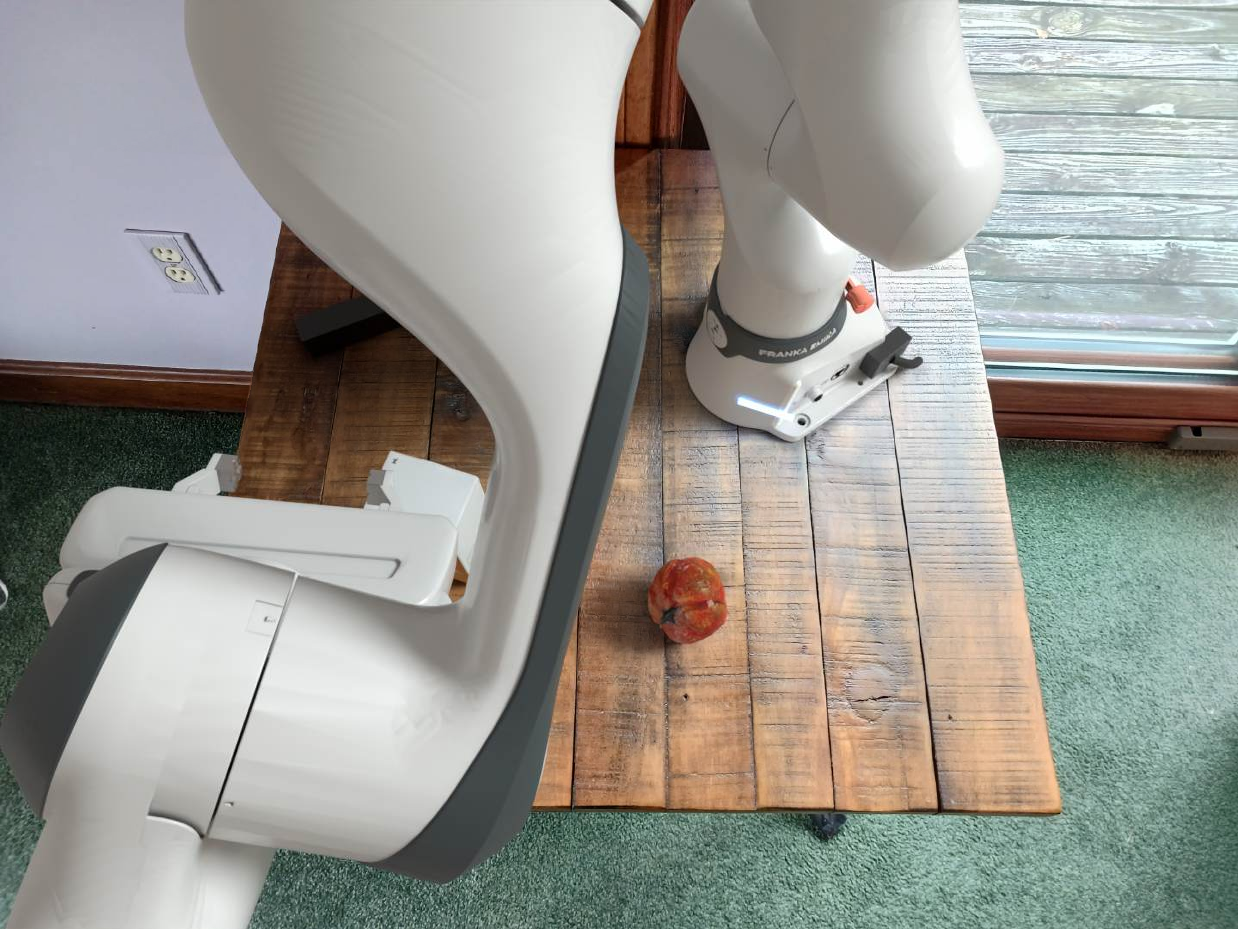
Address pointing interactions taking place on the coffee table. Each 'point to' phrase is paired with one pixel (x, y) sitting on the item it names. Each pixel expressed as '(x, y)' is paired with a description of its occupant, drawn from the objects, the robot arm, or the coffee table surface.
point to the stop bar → (343, 325)
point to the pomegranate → (687, 600)
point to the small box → (440, 499)
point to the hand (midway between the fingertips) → (307, 469)
